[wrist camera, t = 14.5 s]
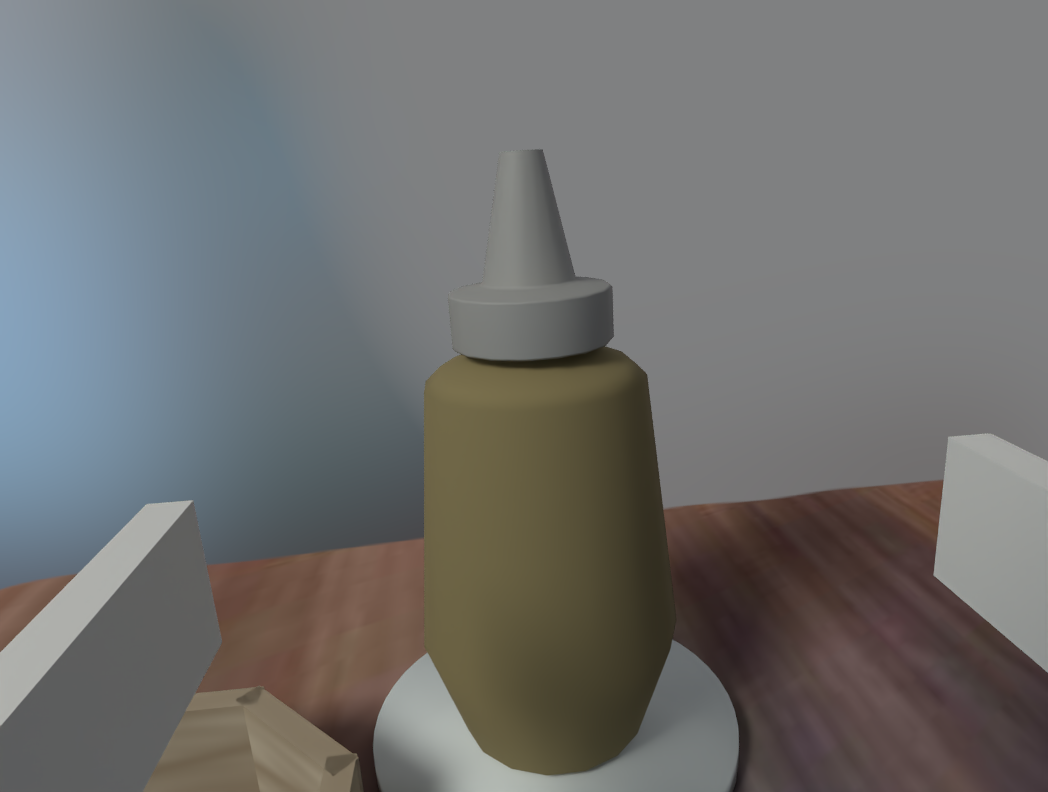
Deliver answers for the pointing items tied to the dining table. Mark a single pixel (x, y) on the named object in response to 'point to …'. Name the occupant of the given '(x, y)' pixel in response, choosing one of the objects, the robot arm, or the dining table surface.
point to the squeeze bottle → (542, 503)
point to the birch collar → (251, 749)
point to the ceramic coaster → (609, 788)
